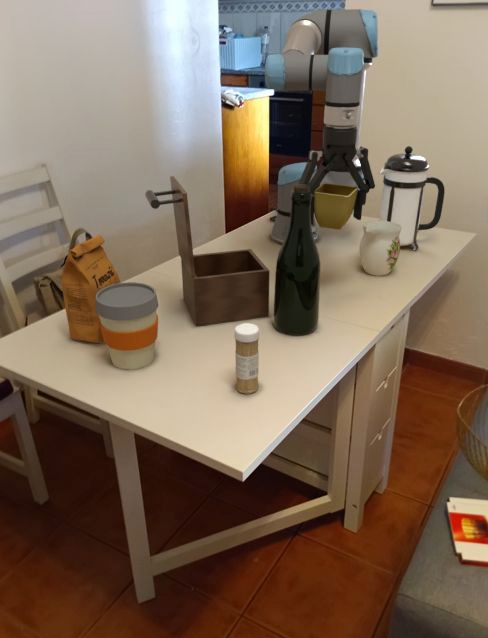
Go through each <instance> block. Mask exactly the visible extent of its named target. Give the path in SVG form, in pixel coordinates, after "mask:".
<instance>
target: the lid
mask: <svg viewBox="0 0 488 638" xmlns="http://www.w3.org/2000/svg"><path fill="white" fill-rule="evenodd" d="M169 179H170V180H169V181H170V188H171V189H170V190H163V191H156V192H154V191H153V190H151V189H148V190H147V191H146V192H145V194H144V195H145V198H146V199H147V201H148V203H149V206H150V207H151V208H152V209H155V210H156V209H157V210H158V209H159V207H160V206H163V205H169V204H170V205H171V204H172V206H173V215H174V224H175V230H176V232H175V233H176V240H177V248H178V249H177V250H178V255H179V258H180V260H181V259H182V261H183V262H184V264H185V266H186V268H187V270H188V272H189V273H190V275H191V277H196V276H195V267H194V257H193V255H194V249H193V248H194V247H193V239H192V238H193V237H192V229H191V219H190V210H189V201H188V200H189V199H188V192H186V190H185V188H184V187H183V186H182V184H181V183H180V182H179V181H178V179H177V178H176V177H175V176H174V175H172V176H171V175H170V176H169ZM168 195H169V196H170V195H171V197H172V198H171V199H165V200H159V198H158V197H160V196H168Z"/></svg>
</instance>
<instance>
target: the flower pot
mask: <svg viewBox="0 0 488 638" xmlns="http://www.w3.org/2000/svg"><path fill="white" fill-rule="evenodd" d="M357 193H358V187H353V186H346V185H337V184H329V183H323V184H322V185H321V186H319V187H318V188H317V189H316V190H315V192H314V193H313V197H315V203H314V218H315V222H316V224H318V226H319V227H320V228H323V229H331V230H336V231H340V230H342V229H343V228H344V226H345V225H346V224H347V223H348V221H349V220H350V218H351V216H352V214H353V213H354V206H355V201H356V197H357Z"/></svg>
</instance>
